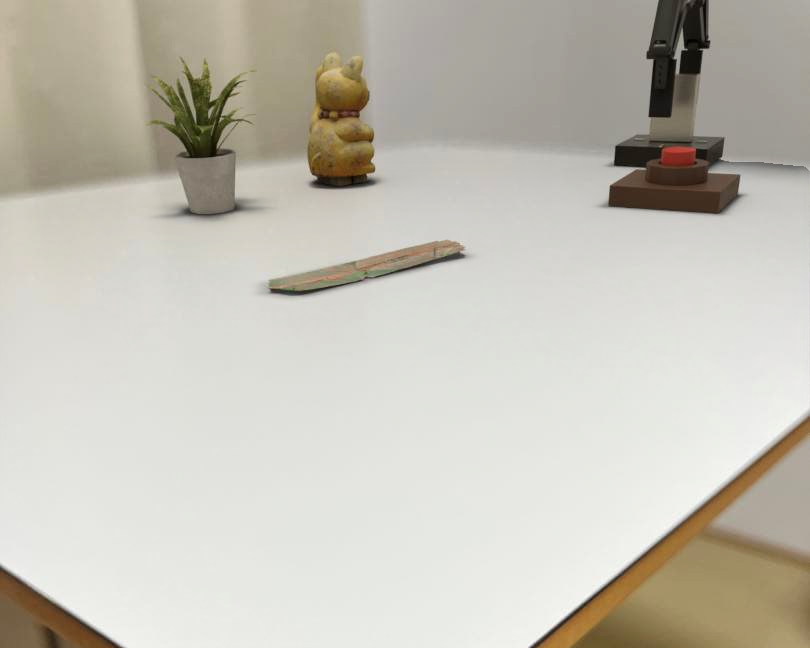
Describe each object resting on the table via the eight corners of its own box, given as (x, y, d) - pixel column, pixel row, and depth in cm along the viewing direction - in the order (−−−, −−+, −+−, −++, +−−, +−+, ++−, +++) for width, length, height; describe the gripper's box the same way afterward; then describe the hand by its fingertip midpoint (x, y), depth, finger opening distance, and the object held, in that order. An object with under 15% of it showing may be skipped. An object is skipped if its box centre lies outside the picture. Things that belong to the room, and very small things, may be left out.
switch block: (737, 194, 107) (743, 157, 105) (717, 213, 99) (723, 173, 97) (634, 188, 112) (637, 152, 110) (608, 206, 104) (610, 168, 102)
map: (257, 291, 83) (255, 280, 82) (441, 239, 92) (440, 229, 92) (285, 304, 79) (283, 293, 79) (473, 248, 88) (473, 238, 88)
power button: (697, 164, 104) (699, 147, 103) (689, 170, 102) (691, 152, 101) (665, 162, 106) (667, 146, 105) (656, 168, 103) (658, 151, 102)
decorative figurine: (388, 180, 122) (383, 51, 114) (344, 192, 117) (335, 57, 109) (336, 174, 128) (327, 50, 120) (291, 184, 123) (279, 55, 115)
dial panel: (722, 156, 128) (725, 135, 126) (704, 169, 120) (707, 147, 119) (635, 153, 133) (637, 132, 131) (613, 165, 125) (615, 144, 124)
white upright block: (692, 140, 125) (700, 71, 120) (689, 142, 123) (697, 72, 119) (651, 139, 127) (657, 71, 123) (648, 141, 126) (654, 72, 121)
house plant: (291, 215, 107) (275, 54, 98) (168, 230, 103) (141, 63, 94) (263, 193, 118) (247, 47, 110) (152, 205, 114) (126, 55, 106)
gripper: (687, -80, 123) (669, 98, 134) (631, -85, 104) (617, 122, 115) (746, -84, 120) (723, 99, 131) (699, -89, 101) (678, 124, 112)
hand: (673, 110), depth 123 cm, fingers open, 13 cm apart
